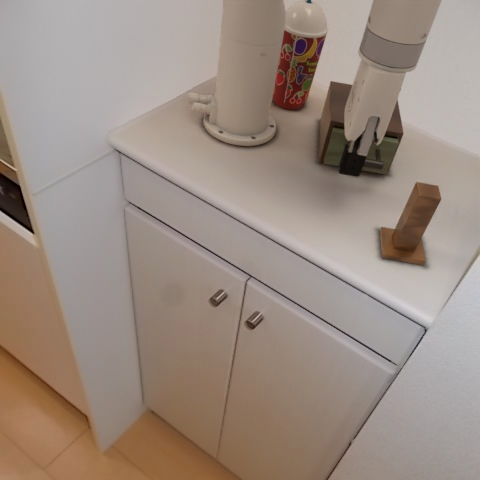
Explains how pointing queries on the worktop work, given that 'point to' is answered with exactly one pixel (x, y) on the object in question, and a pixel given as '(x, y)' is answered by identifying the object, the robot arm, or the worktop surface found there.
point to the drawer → (376, 156)
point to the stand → (411, 226)
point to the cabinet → (335, 117)
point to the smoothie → (299, 53)
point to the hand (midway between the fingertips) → (348, 172)
